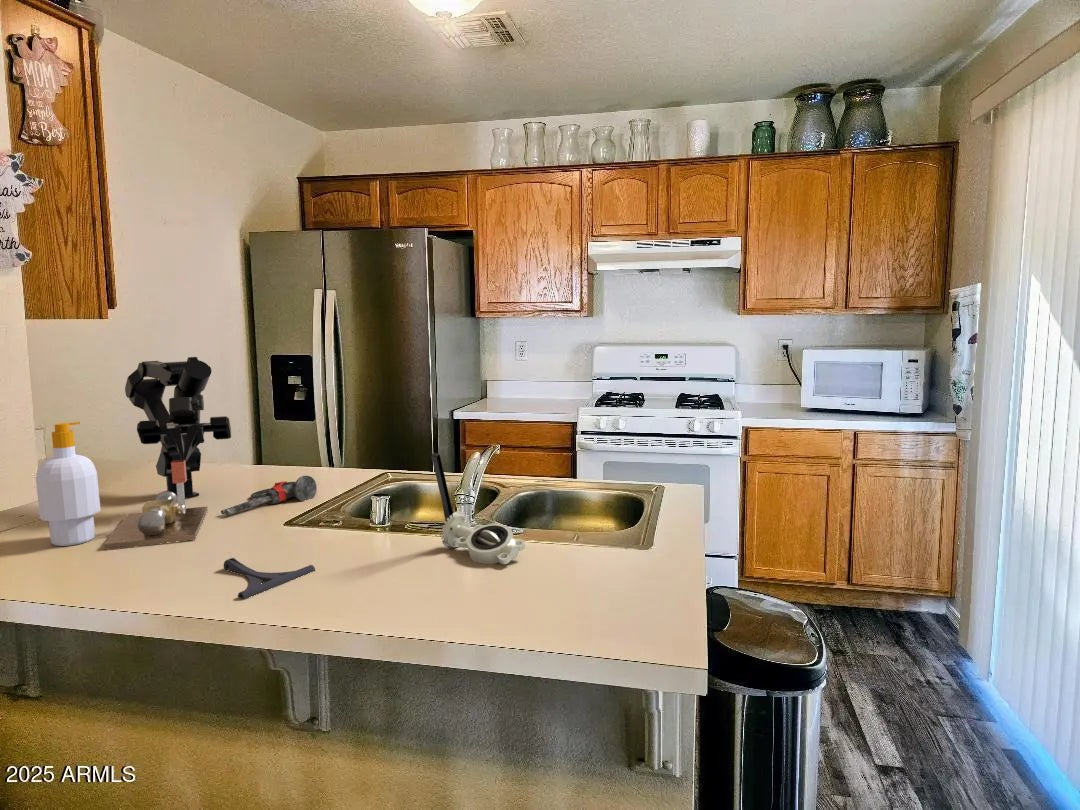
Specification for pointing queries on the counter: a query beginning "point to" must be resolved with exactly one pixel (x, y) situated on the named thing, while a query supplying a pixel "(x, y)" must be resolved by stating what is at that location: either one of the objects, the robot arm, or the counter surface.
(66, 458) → the soap bottle
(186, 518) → the valve stand
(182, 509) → the lever
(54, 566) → the counter surface
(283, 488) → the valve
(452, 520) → the butterfly valve
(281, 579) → the dark grey squeegee
